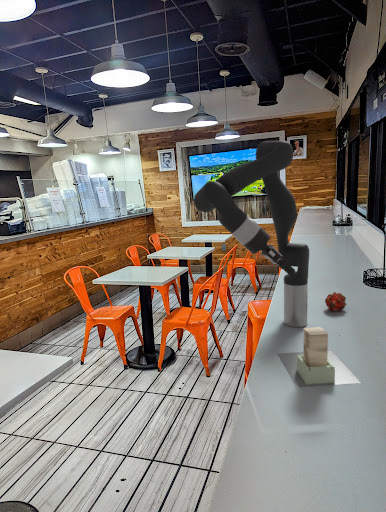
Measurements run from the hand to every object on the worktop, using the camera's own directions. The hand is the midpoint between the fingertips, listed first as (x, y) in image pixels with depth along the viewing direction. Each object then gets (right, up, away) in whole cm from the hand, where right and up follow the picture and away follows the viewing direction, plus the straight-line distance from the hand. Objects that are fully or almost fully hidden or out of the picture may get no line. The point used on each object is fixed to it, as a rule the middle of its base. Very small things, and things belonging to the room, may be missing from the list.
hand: (288, 270), depth 103 cm
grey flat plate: (+8, -31, +1) cm, 32 cm away
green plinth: (+6, -31, -4) cm, 32 cm away
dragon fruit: (+35, -20, +50) cm, 64 cm away
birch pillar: (+6, -27, -5) cm, 28 cm away
